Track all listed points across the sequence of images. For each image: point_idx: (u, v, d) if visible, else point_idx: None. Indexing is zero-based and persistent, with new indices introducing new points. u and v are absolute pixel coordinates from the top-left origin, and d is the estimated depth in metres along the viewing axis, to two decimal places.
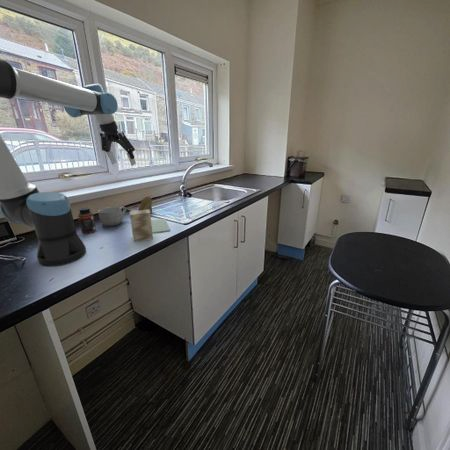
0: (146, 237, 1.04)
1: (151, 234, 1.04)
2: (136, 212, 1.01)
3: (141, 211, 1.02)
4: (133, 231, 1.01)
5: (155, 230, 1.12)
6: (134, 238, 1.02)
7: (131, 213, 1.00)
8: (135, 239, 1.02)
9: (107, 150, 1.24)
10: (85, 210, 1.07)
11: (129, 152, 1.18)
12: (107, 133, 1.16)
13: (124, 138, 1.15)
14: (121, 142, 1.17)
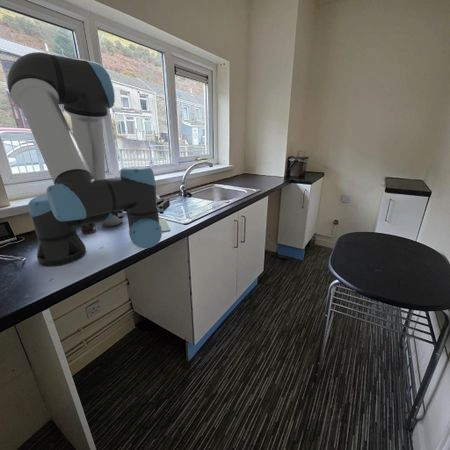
0: None
1: None
2: None
3: None
4: None
5: None
6: None
7: None
8: None
9: None
10: None
11: None
12: None
13: (116, 212, 0.75)
14: (125, 208, 0.77)
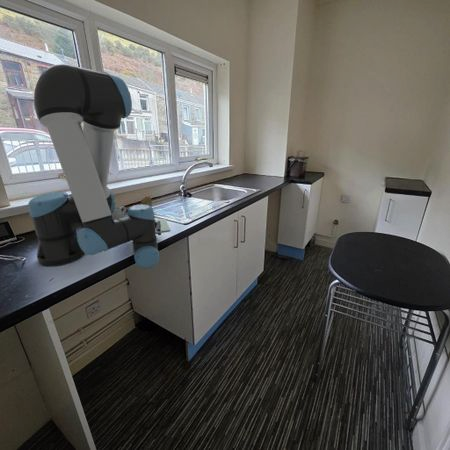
0: None
1: None
2: None
3: None
4: None
5: None
6: None
7: None
8: None
9: None
10: None
11: None
12: None
13: None
14: None
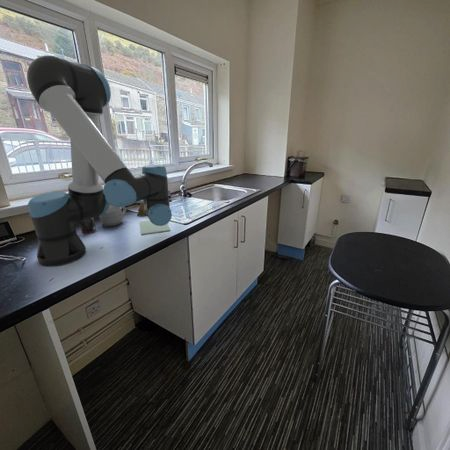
0: None
1: None
2: None
3: None
4: None
5: (155, 230, 1.12)
6: (145, 207, 1.05)
7: None
8: None
9: None
10: None
11: None
12: None
13: None
14: None
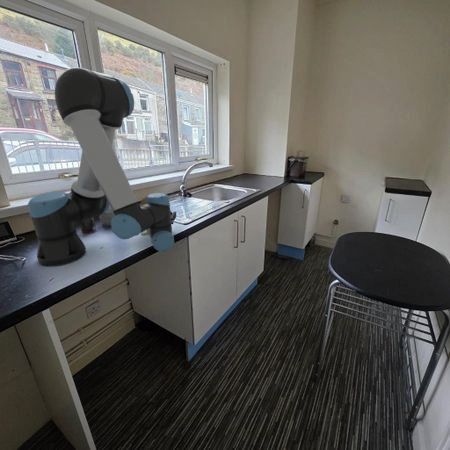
0: None
1: None
2: None
3: None
4: None
5: None
6: (147, 229, 1.09)
7: None
8: (148, 230, 1.10)
9: None
10: None
11: None
12: None
13: None
14: None
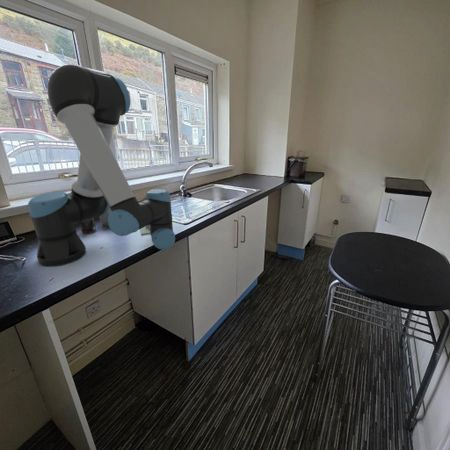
0: None
1: None
2: None
3: None
4: None
5: None
6: None
7: None
8: None
9: None
10: None
11: None
12: None
13: None
14: None
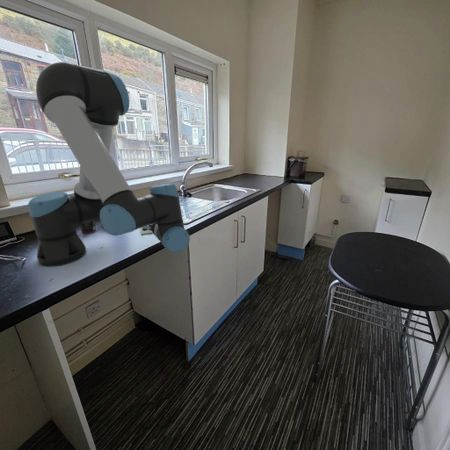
0: None
1: None
2: None
3: None
4: None
5: None
6: None
7: None
8: None
9: None
10: None
11: None
12: None
13: None
14: None
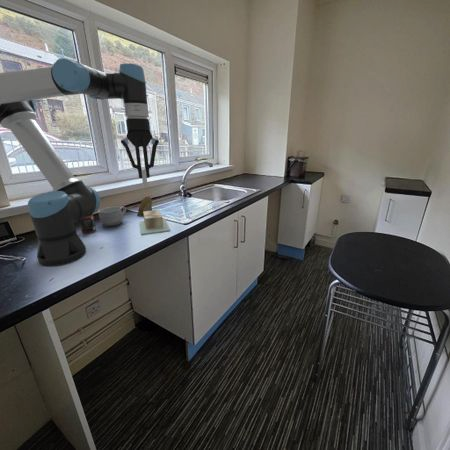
0: (156, 216, 1.15)
1: (160, 215, 1.17)
2: None
3: None
4: (145, 215, 1.16)
5: (155, 230, 1.12)
6: (145, 217, 1.14)
7: None
8: (146, 218, 1.13)
9: None
10: None
11: None
12: None
13: None
14: None
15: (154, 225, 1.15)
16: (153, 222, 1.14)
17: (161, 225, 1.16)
